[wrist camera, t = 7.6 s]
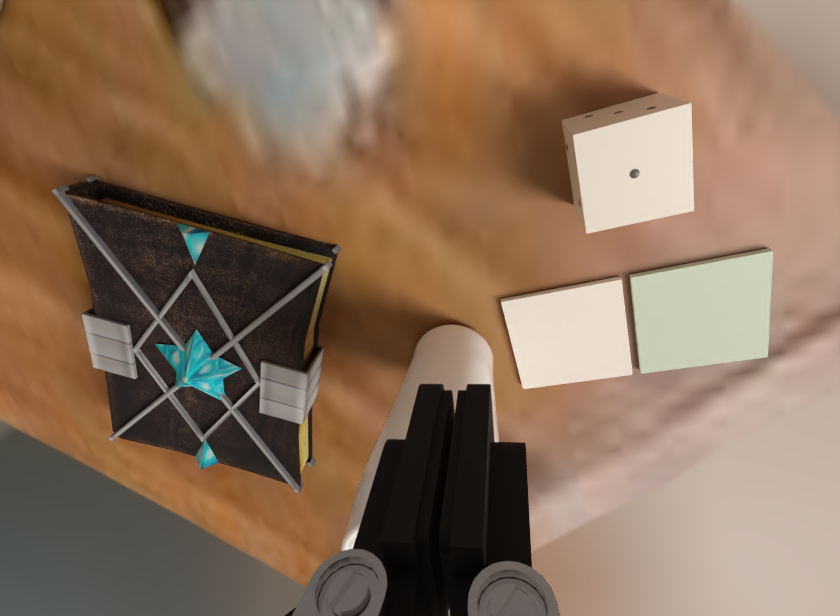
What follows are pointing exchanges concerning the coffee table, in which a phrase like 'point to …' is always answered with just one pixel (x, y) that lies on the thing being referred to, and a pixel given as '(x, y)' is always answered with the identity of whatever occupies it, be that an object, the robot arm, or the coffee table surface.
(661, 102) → the die
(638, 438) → the coffee table surface
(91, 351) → the book
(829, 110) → the coffee table surface
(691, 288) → the squares
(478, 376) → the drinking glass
